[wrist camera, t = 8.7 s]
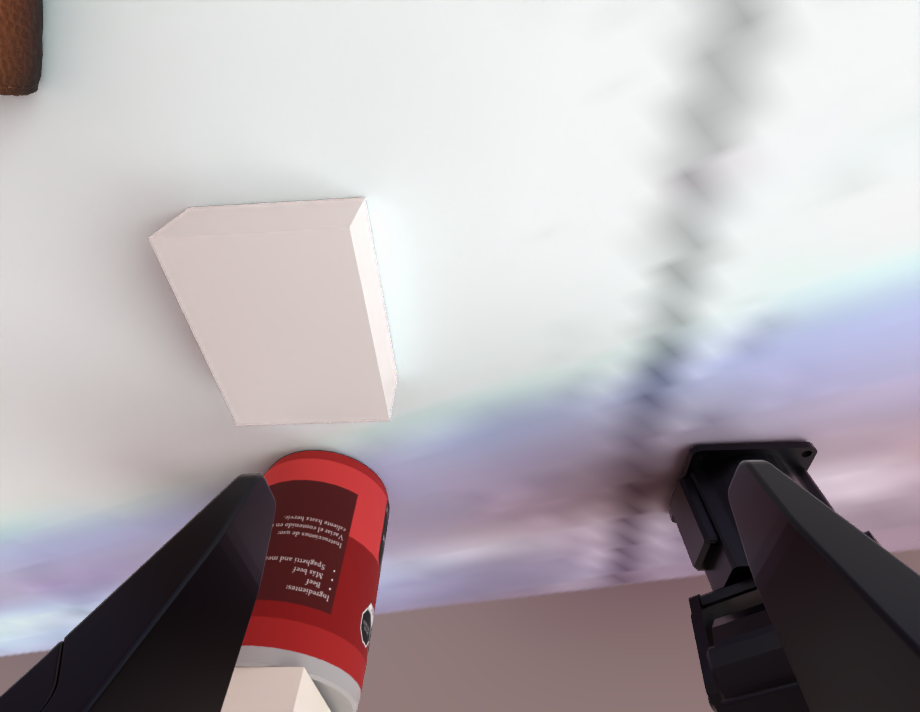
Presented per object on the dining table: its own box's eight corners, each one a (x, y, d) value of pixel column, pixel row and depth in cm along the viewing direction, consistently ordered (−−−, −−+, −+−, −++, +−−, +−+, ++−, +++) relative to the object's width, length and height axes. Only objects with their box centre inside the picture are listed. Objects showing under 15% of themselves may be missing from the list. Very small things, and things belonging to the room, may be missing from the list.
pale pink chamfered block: (365, 197, 19) (349, 227, 16) (397, 378, 24) (389, 421, 22) (188, 207, 19) (148, 238, 17) (259, 383, 24) (236, 425, 22)
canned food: (330, 542, 33) (278, 743, 24) (235, 478, 29) (131, 691, 20) (418, 502, 30) (397, 714, 21) (326, 426, 26) (252, 646, 17)
